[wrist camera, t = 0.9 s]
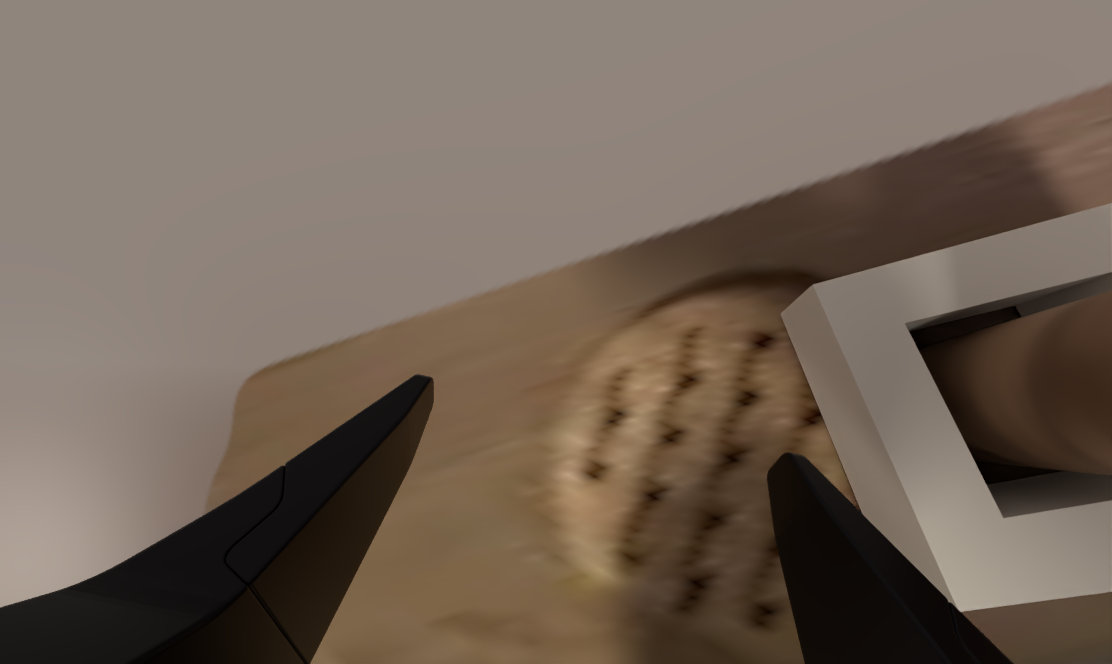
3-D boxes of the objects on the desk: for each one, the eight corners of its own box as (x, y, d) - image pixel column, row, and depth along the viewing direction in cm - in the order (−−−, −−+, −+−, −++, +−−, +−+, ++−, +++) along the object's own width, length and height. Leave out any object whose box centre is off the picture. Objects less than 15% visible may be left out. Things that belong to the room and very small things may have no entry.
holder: (1224, 515, 14) (1442, 547, 10) (884, 567, 16) (958, 612, 12) (1045, 243, 17) (1159, 189, 13) (780, 313, 19) (812, 284, 15)
